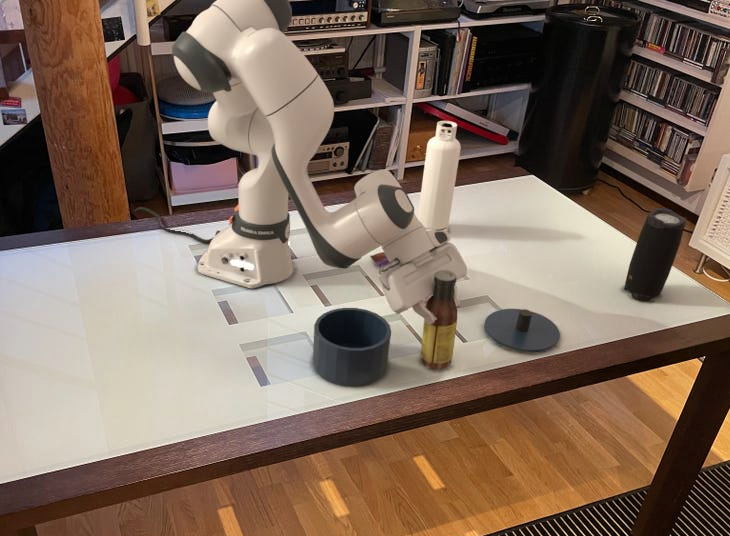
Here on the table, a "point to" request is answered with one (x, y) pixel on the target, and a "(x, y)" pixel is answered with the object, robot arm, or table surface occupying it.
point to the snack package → (380, 259)
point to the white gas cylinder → (439, 178)
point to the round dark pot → (351, 346)
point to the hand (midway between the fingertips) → (444, 315)
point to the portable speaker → (654, 254)
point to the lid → (522, 330)
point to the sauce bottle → (440, 323)
